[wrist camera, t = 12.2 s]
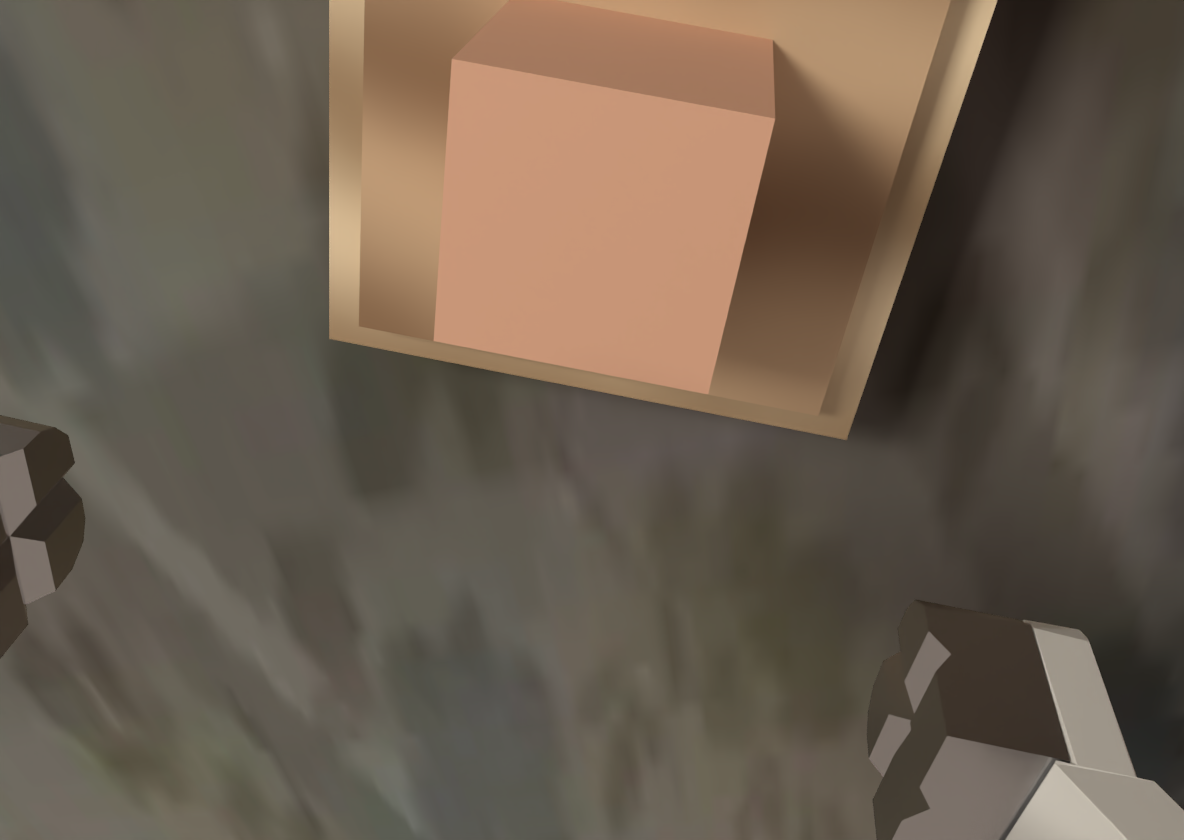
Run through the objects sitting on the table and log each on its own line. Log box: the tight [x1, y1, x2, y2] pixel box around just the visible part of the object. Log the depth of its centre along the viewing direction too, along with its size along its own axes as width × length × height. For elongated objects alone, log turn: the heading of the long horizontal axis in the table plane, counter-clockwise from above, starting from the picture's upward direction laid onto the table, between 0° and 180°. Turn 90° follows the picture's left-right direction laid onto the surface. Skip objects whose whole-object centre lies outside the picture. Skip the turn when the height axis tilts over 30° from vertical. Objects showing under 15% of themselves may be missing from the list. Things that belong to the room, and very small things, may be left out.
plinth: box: [329, 0, 997, 440], centre depth 23 cm, size 13×13×4 cm
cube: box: [434, 0, 775, 394], centre depth 19 cm, size 5×5×5 cm
